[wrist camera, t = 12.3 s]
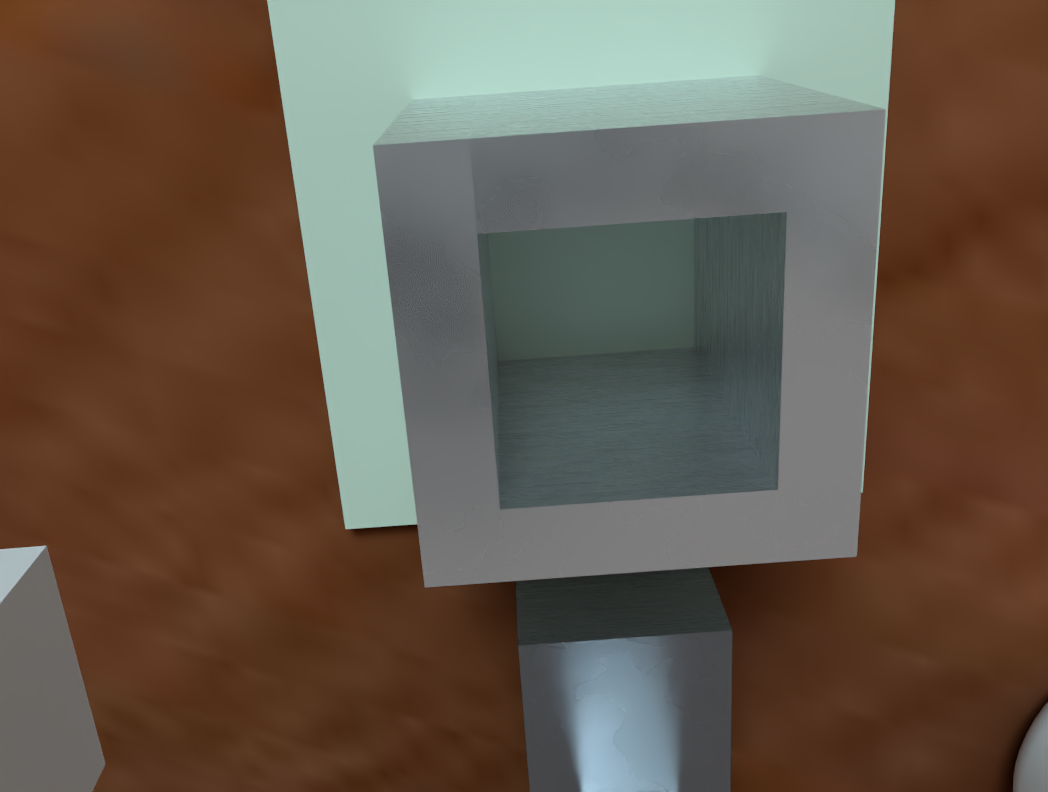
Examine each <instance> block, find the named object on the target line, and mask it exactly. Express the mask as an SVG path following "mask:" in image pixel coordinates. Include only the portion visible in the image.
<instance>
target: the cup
mask: <svg viewBox="0 0 1048 792" xmlns="http://www.w3.org/2000/svg"><path fill="white" fill-rule="evenodd" d="M1013 792H1048V702H1047V703H1046V704H1045V705H1044V707H1043V708H1042V709H1041V711H1040V712H1039V714H1038V715H1037V716H1036V718H1035V719H1034V721H1033V723H1032V724H1031V726H1030V728H1029V730H1028V732H1027V734H1026V736H1025V738H1024V740H1023V743H1022V745H1021V747H1020V750H1019V753H1018V757H1017V760H1016V764H1015V770H1014V776H1013Z"/></svg>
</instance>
